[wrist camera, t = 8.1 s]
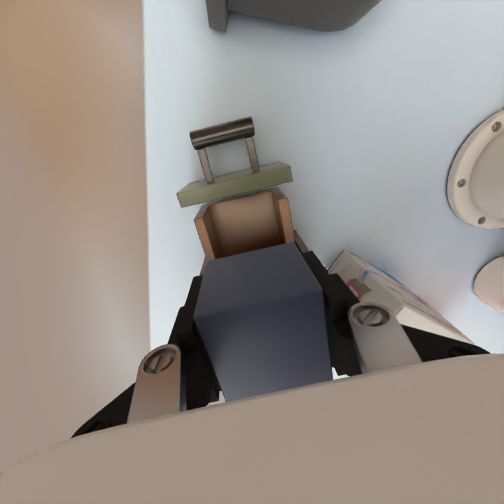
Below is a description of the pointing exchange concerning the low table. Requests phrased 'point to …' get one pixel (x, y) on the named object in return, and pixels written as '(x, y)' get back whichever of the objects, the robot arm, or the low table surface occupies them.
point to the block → (263, 322)
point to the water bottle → (491, 284)
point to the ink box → (391, 296)
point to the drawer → (238, 198)
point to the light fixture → (293, 12)
